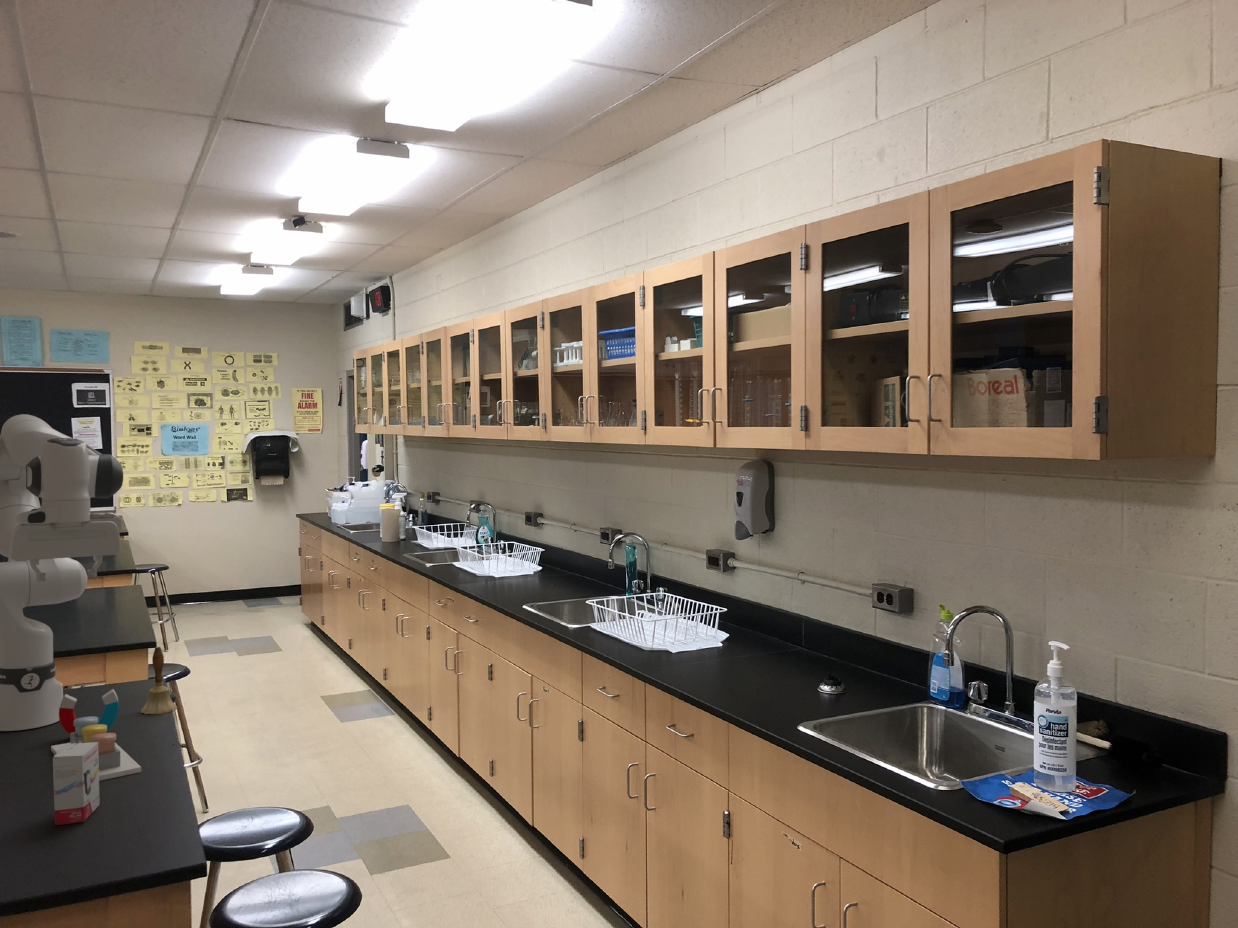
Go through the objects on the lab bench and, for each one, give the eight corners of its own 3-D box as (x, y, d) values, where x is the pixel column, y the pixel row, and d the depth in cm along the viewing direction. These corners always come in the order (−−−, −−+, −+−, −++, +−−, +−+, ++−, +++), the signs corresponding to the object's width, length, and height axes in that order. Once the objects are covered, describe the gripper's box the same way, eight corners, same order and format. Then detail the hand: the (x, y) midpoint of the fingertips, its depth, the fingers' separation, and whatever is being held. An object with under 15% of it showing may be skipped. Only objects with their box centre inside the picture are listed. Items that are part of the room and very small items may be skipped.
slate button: (71, 739, 195) (71, 719, 195) (95, 735, 198) (95, 715, 198) (76, 744, 192) (76, 723, 192) (100, 740, 195) (100, 719, 195)
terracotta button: (88, 757, 183) (87, 735, 183) (113, 752, 186) (113, 731, 186) (93, 763, 180) (93, 740, 180) (118, 758, 183) (118, 736, 183)
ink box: (84, 823, 156) (83, 755, 156) (51, 826, 155) (51, 757, 155) (100, 805, 165) (100, 740, 165) (70, 807, 164) (70, 742, 163)
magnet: (118, 731, 210) (118, 688, 210) (118, 734, 208) (118, 690, 207) (59, 738, 204) (59, 694, 204) (58, 741, 202) (58, 697, 202)
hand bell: (166, 714, 223) (166, 650, 223) (133, 714, 224) (133, 650, 224) (183, 705, 232) (183, 643, 232) (151, 705, 232) (151, 643, 232)
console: (51, 750, 196) (51, 732, 196) (108, 739, 203) (107, 722, 203) (78, 784, 175) (78, 764, 175) (141, 771, 182) (141, 752, 182)
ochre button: (79, 748, 189) (79, 727, 189) (104, 743, 192) (104, 722, 192) (84, 753, 186) (84, 732, 186) (109, 749, 189) (109, 727, 189)
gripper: (117, 511, 201) (118, 573, 201) (7, 515, 187) (7, 582, 187) (124, 512, 196) (125, 576, 196) (12, 516, 183) (12, 584, 182)
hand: (66, 579), depth 191 cm, fingers open, 8 cm apart
